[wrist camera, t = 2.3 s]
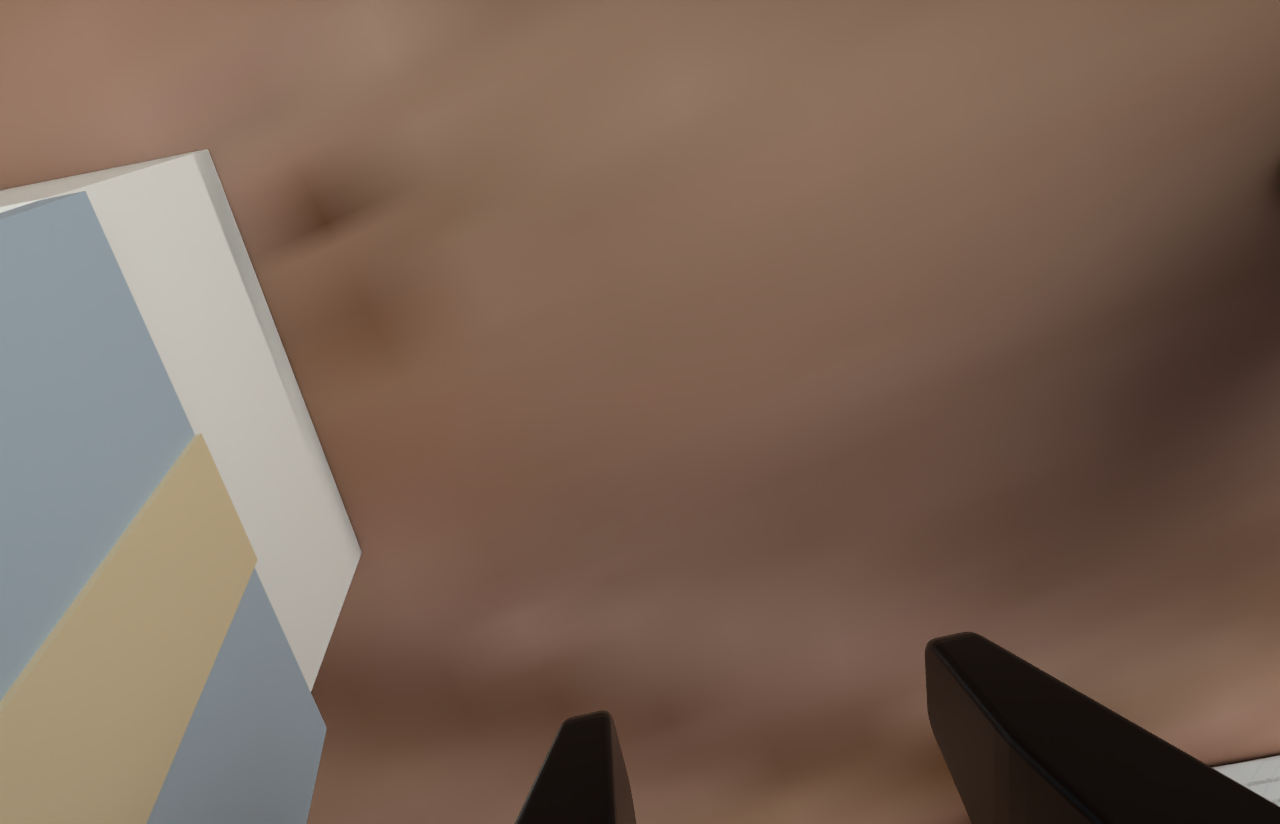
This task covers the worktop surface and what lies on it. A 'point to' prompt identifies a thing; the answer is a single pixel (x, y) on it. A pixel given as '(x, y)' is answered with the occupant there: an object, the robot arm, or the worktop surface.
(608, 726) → the robot arm
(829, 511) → the worktop surface
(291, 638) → the keepsake box
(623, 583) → the worktop surface
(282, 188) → the worktop surface
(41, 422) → the lid
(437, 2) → the worktop surface
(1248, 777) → the hard drive box
